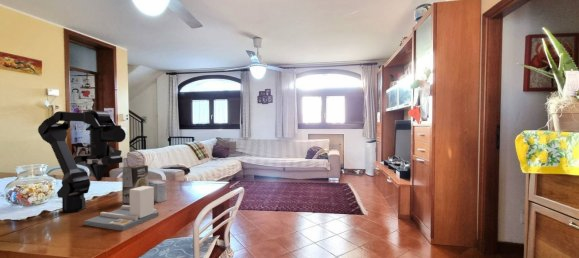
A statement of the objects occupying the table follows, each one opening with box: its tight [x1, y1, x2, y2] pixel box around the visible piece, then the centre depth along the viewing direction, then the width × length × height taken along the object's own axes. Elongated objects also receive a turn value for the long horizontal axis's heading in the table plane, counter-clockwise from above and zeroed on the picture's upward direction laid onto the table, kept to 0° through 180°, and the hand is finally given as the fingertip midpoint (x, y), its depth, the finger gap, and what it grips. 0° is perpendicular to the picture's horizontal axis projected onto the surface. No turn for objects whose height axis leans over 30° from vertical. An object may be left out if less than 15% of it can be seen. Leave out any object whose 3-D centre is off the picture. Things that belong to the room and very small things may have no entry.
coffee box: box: [121, 164, 149, 204], centre depth 120 cm, size 9×6×16 cm
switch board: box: [84, 204, 160, 232], centre depth 95 cm, size 18×15×3 cm
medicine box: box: [148, 180, 167, 203], centre depth 120 cm, size 8×4×9 cm, turn 58°
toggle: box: [129, 185, 155, 218], centre depth 95 cm, size 6×6×10 cm
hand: (99, 180), depth 103 cm, fingers closed
